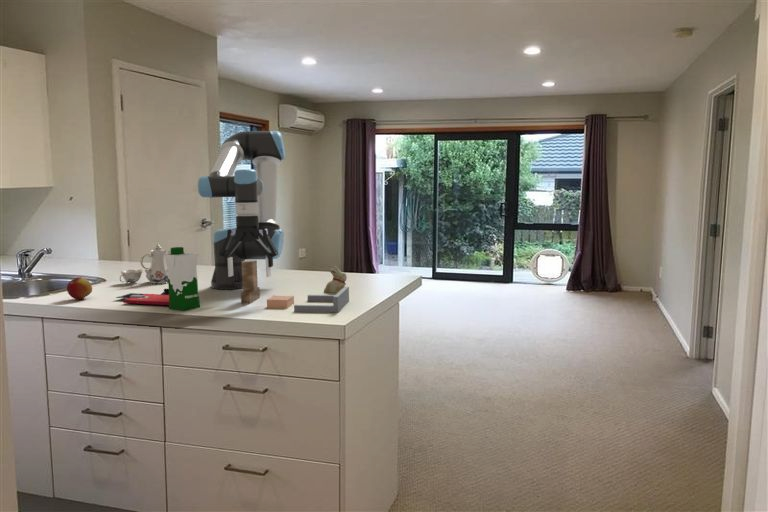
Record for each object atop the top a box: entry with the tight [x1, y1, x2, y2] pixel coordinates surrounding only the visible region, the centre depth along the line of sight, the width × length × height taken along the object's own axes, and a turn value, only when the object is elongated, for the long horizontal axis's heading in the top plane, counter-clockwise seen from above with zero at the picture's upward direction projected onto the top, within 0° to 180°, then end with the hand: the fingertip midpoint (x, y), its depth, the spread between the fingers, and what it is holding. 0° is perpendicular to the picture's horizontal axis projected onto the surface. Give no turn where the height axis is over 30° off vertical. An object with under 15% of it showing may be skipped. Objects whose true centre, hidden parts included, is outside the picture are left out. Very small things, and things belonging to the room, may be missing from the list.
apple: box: [66, 276, 93, 301], centre depth 217 cm, size 8×8×8 cm
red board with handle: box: [115, 288, 169, 306], centre depth 213 cm, size 30×3×15 cm
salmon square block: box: [266, 295, 295, 309], centre depth 202 cm, size 7×7×3 cm
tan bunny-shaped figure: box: [323, 265, 348, 294], centre depth 226 cm, size 6×8×10 cm
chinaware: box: [119, 243, 171, 285], centre depth 253 cm, size 28×17×17 cm, turn 144°
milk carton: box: [165, 246, 201, 312], centre depth 199 cm, size 9×9×20 cm
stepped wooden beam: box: [240, 259, 261, 305], centre depth 210 cm, size 4×10×14 cm, turn 172°
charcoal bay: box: [293, 286, 350, 313], centre depth 200 cm, size 14×18×5 cm
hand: (249, 276), depth 210 cm, fingers open, 13 cm apart
